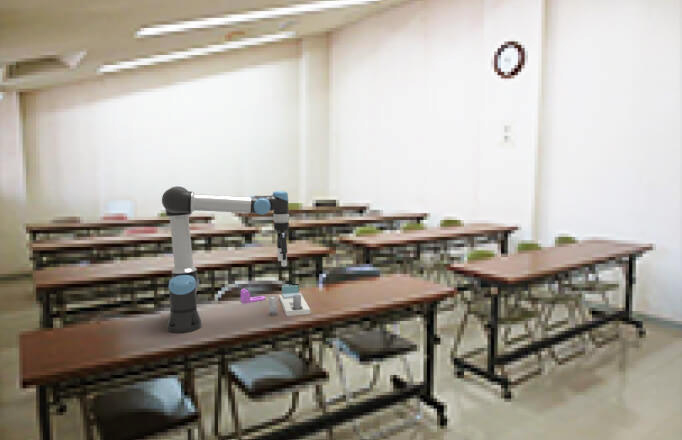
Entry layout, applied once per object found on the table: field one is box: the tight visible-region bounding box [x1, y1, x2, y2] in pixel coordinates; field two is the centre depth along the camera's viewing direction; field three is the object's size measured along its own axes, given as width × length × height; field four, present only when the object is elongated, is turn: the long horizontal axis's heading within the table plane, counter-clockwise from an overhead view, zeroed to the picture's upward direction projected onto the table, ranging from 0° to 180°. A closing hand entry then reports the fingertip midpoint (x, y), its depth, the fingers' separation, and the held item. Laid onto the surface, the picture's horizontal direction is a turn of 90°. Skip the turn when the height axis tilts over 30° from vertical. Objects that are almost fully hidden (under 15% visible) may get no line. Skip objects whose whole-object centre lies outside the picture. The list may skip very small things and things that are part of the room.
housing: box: [278, 292, 311, 317], centre depth 249 cm, size 12×30×9 cm, turn 14°
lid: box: [281, 284, 300, 299], centre depth 258 cm, size 9×7×5 cm
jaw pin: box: [268, 295, 278, 316], centre depth 236 cm, size 4×4×9 cm
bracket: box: [240, 288, 266, 305], centre depth 259 cm, size 13×6×7 cm, turn 117°
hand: (282, 263), depth 239 cm, fingers open, 13 cm apart
